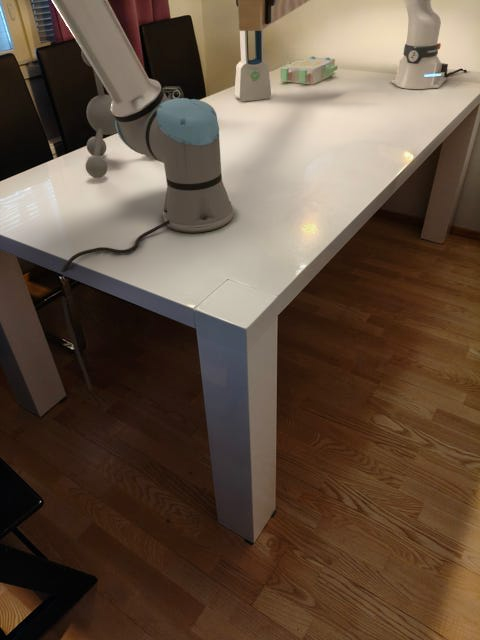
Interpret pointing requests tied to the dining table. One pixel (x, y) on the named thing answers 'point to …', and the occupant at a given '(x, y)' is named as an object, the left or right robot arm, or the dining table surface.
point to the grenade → (173, 92)
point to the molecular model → (99, 127)
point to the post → (263, 12)
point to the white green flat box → (308, 70)
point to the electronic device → (252, 71)
